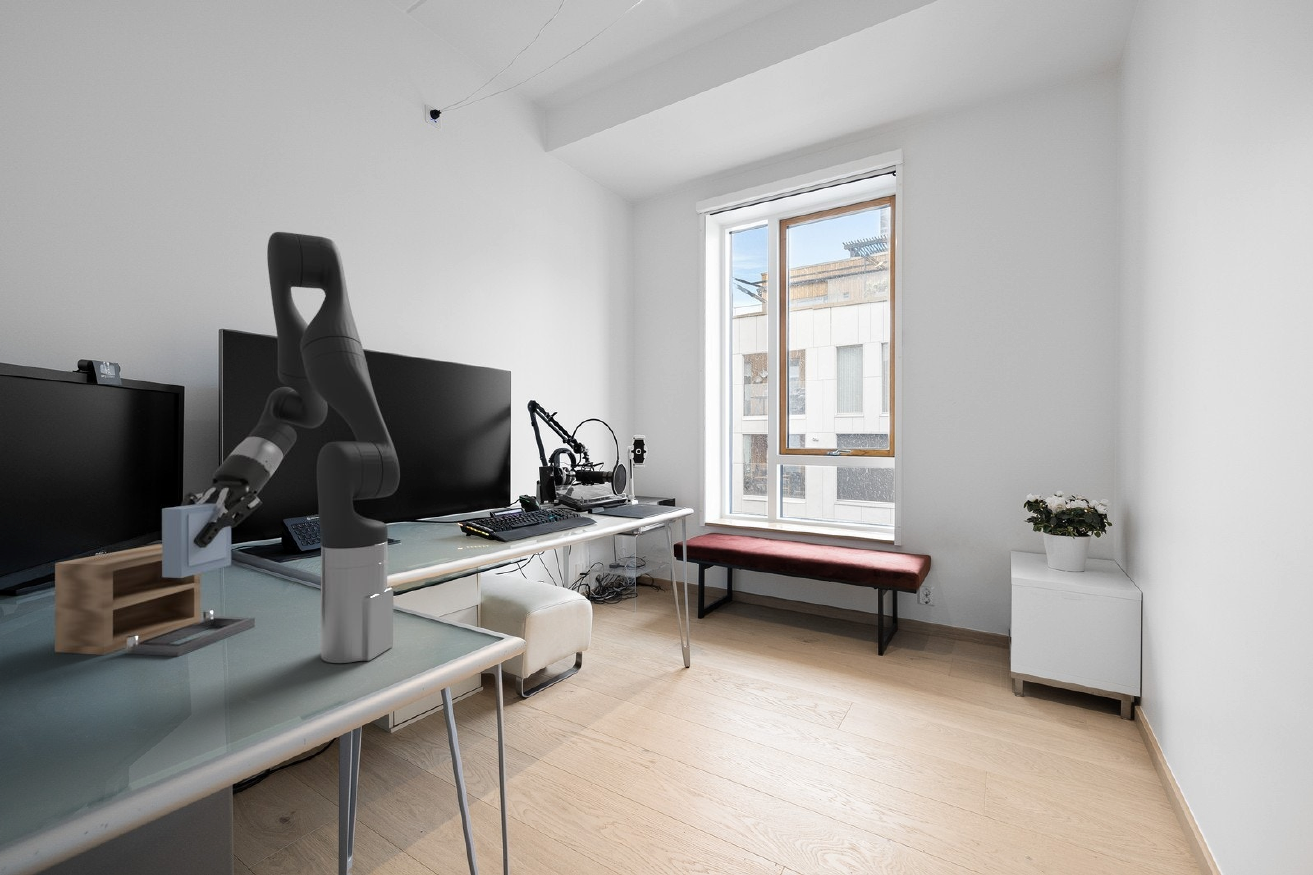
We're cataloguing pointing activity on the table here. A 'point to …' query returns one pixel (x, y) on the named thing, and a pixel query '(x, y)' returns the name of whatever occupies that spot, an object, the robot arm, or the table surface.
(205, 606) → the table surface
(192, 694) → the table surface
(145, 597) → the cabinet
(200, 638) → the dark grey tray
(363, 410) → the robot arm
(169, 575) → the recessed panel box
